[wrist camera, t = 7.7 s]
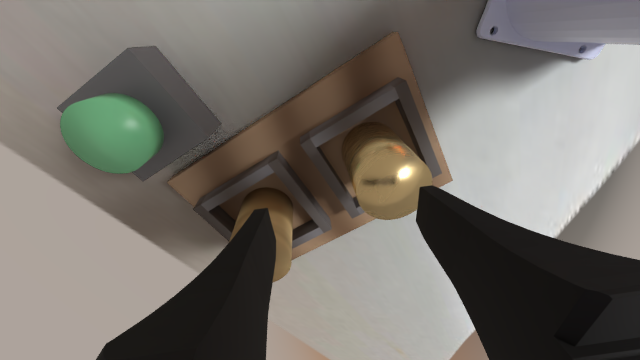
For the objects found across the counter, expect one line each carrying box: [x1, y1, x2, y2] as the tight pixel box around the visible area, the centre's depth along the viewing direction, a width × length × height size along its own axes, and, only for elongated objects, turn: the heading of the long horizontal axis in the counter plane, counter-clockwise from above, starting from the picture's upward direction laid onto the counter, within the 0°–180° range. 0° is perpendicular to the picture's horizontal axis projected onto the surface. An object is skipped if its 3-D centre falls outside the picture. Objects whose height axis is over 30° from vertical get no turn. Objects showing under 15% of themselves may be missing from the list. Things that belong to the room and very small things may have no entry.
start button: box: [60, 93, 164, 174], centre depth 14 cm, size 4×4×2 cm
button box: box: [57, 46, 221, 181], centre depth 17 cm, size 6×6×3 cm
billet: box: [342, 122, 432, 220], centre depth 17 cm, size 4×4×6 cm
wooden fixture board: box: [167, 32, 453, 282], centre depth 18 cm, size 20×13×7 cm, turn 121°
